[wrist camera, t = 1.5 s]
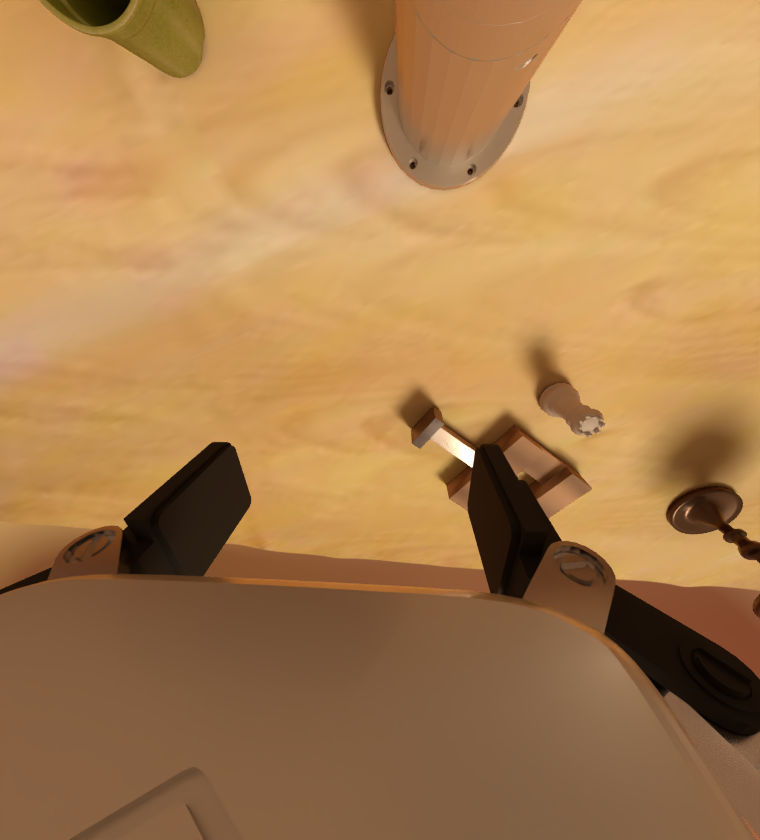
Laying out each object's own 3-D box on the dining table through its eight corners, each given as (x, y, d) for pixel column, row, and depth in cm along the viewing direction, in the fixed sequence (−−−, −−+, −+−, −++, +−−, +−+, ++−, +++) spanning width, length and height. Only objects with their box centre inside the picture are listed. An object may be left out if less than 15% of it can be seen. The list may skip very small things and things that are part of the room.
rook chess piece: (533, 411, 38) (562, 442, 31) (543, 380, 36) (577, 406, 29) (566, 413, 38) (604, 445, 31) (579, 382, 36) (622, 409, 29)
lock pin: (433, 406, 38) (435, 417, 35) (493, 449, 41) (500, 464, 38) (411, 430, 40) (411, 443, 37) (469, 469, 43) (474, 485, 40)
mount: (514, 425, 39) (522, 435, 36) (580, 475, 42) (592, 488, 39) (446, 485, 45) (449, 498, 42) (508, 526, 48) (514, 540, 45)
